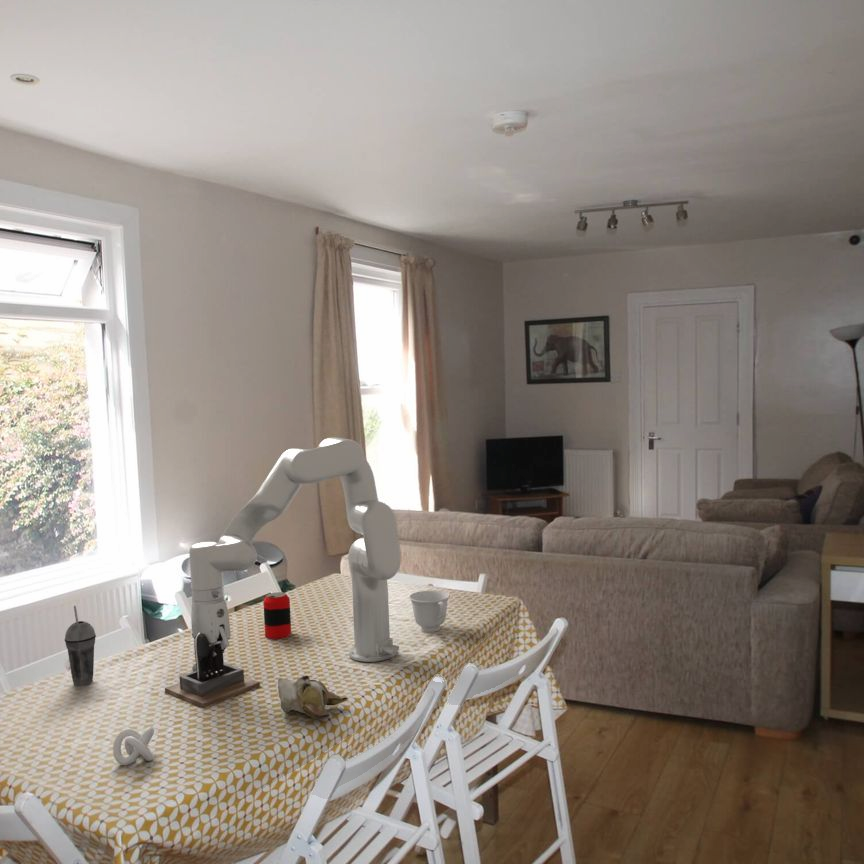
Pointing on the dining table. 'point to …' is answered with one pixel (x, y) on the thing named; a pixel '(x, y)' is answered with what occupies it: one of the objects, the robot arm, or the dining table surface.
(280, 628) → the soda can
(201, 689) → the holder
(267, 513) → the robot arm
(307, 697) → the ceramic sculpture
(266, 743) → the dining table surface
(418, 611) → the teacup
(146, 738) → the knot
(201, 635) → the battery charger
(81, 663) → the beverage cup
